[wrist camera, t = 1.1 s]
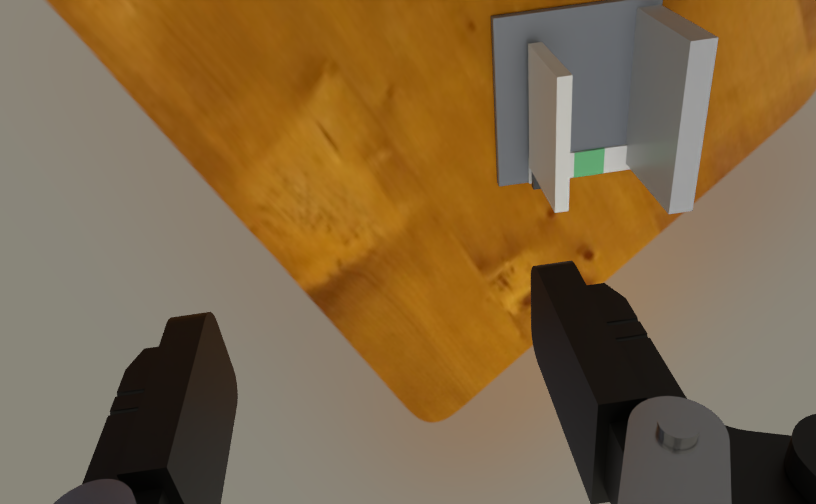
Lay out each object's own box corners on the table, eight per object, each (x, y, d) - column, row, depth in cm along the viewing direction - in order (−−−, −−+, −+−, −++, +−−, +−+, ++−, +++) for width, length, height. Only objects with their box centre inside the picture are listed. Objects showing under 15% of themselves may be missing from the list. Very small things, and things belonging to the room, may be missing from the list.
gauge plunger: (528, 43, 39) (557, 77, 34) (541, 41, 39) (572, 75, 34) (529, 186, 44) (554, 233, 39) (541, 184, 44) (567, 231, 39)
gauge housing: (491, 16, 39) (521, 54, 32) (658, -7, 39) (721, 27, 33) (497, 182, 45) (524, 242, 39) (642, 161, 45) (692, 217, 39)
